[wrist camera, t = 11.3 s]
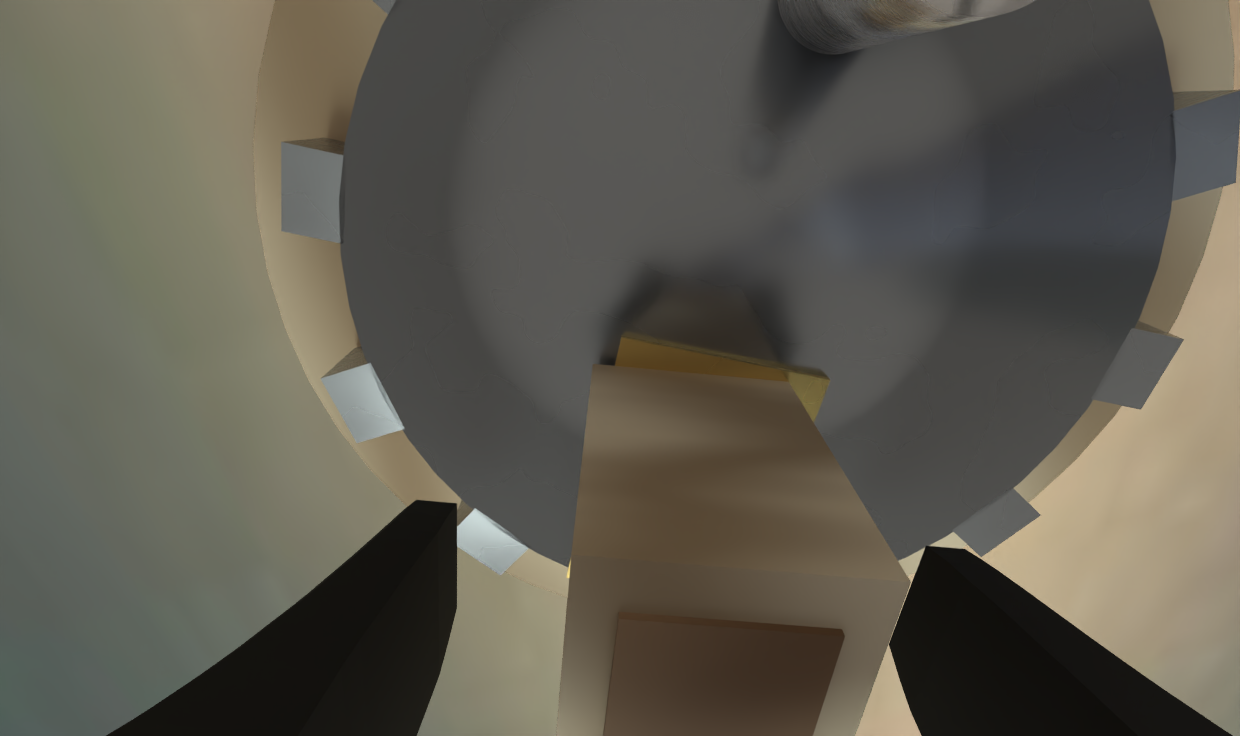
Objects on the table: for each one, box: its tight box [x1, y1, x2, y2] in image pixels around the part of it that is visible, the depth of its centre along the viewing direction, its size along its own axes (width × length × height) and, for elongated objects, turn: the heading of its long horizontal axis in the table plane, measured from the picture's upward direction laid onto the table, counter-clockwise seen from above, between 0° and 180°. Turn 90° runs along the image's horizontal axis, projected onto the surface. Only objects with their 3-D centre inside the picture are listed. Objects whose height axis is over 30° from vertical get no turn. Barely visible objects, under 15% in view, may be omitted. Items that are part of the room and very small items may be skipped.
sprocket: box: [281, 0, 1240, 578], centre depth 9 cm, size 15×15×6 cm
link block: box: [556, 364, 911, 736], centre depth 9 cm, size 4×5×5 cm
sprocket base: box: [253, 0, 1234, 598], centre depth 11 cm, size 18×18×3 cm
